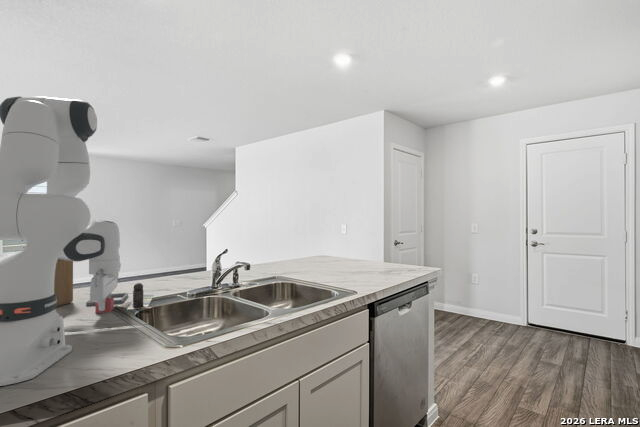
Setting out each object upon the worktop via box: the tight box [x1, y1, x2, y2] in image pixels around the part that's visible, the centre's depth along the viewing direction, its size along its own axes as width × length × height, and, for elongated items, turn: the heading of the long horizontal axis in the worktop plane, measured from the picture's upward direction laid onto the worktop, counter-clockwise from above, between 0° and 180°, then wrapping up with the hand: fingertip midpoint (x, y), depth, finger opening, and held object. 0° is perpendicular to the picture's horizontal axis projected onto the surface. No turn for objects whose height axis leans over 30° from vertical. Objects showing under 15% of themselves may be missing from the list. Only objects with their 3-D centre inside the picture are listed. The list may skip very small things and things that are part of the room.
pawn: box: [132, 282, 144, 309], centre depth 117 cm, size 3×3×8 cm
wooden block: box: [54, 260, 74, 308], centre depth 121 cm, size 10×10×20 cm
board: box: [126, 293, 155, 310], centre depth 125 cm, size 20×7×1 cm, turn 20°
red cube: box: [94, 297, 115, 314], centre depth 113 cm, size 4×4×4 cm
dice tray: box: [85, 292, 129, 307], centre depth 125 cm, size 11×11×2 cm
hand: (104, 307), depth 113 cm, fingers closed on red cube, 4 cm apart
